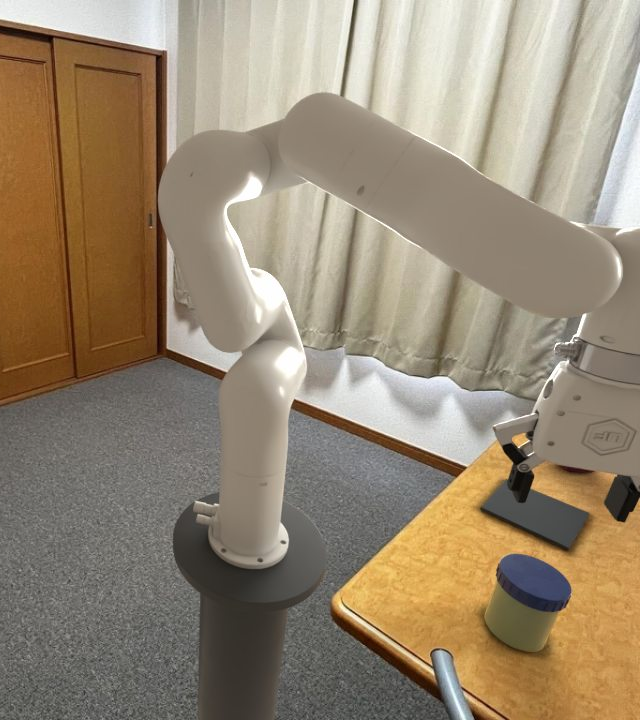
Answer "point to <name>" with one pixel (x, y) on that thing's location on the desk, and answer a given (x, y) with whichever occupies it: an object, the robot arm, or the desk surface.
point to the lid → (533, 582)
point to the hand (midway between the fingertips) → (564, 503)
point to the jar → (518, 622)
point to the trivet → (538, 515)
